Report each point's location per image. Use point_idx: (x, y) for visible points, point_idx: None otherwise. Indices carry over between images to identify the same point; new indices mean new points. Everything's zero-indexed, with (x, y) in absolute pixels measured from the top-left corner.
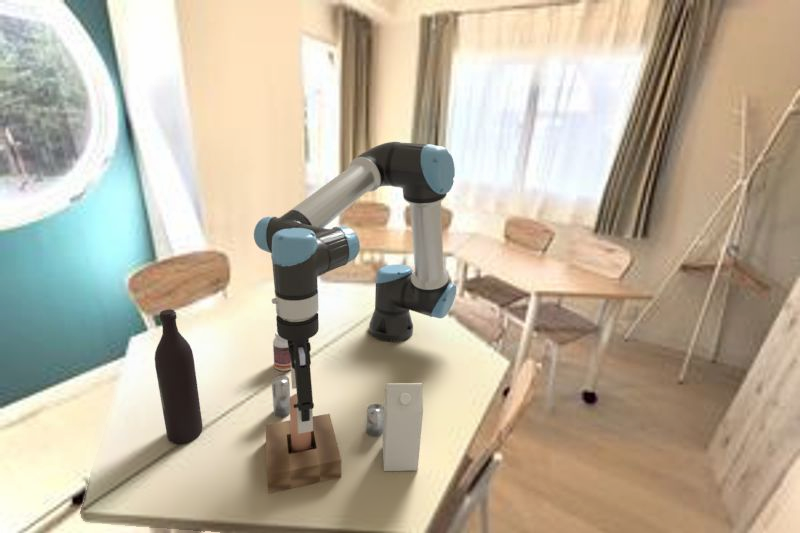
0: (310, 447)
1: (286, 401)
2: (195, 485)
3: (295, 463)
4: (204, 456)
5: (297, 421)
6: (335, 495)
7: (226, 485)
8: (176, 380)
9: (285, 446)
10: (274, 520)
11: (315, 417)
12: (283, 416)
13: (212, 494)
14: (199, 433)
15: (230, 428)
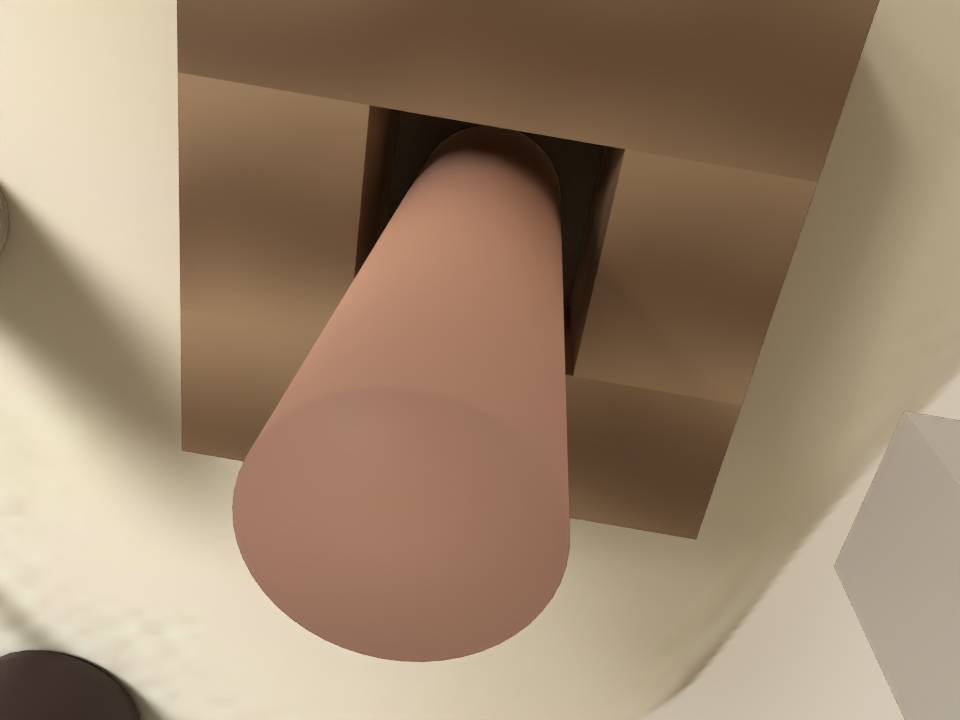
0: (530, 170)
1: None
2: (444, 708)
3: (694, 354)
4: (261, 660)
5: (889, 685)
6: (949, 71)
7: None
8: None
9: None
10: (872, 458)
11: (199, 29)
12: (5, 214)
13: (536, 661)
14: (88, 676)
15: (65, 530)
